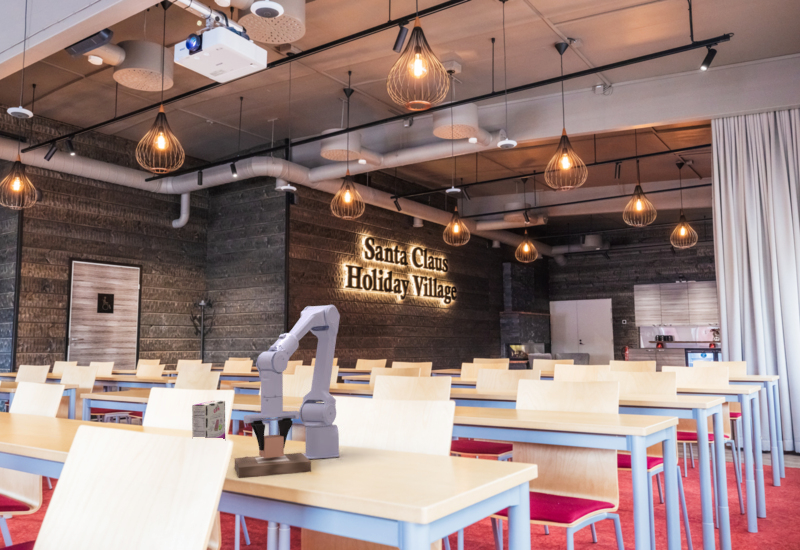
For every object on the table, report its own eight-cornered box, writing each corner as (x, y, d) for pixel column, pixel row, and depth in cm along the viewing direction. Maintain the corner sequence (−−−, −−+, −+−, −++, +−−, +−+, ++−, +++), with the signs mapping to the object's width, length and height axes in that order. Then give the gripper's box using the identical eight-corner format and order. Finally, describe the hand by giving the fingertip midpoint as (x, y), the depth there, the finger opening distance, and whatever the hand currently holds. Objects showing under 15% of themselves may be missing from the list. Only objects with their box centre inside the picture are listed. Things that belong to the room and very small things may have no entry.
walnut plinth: (301, 462, 173) (301, 452, 173) (310, 471, 160) (310, 460, 160) (234, 467, 167) (234, 457, 167) (238, 477, 154) (239, 466, 154)
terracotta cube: (277, 453, 167) (277, 434, 168) (283, 456, 163) (283, 436, 164) (259, 455, 165) (259, 436, 166) (265, 458, 161) (265, 438, 161)
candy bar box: (210, 456, 186) (211, 400, 188) (225, 456, 185) (226, 400, 187) (190, 463, 175) (191, 404, 177) (207, 463, 174) (207, 404, 176)
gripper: (292, 394, 173) (292, 444, 171) (240, 397, 165) (240, 449, 164) (301, 395, 166) (302, 447, 165) (248, 399, 159) (248, 453, 158)
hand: (271, 448), depth 164 cm, fingers closed on terracotta cube, 5 cm apart
